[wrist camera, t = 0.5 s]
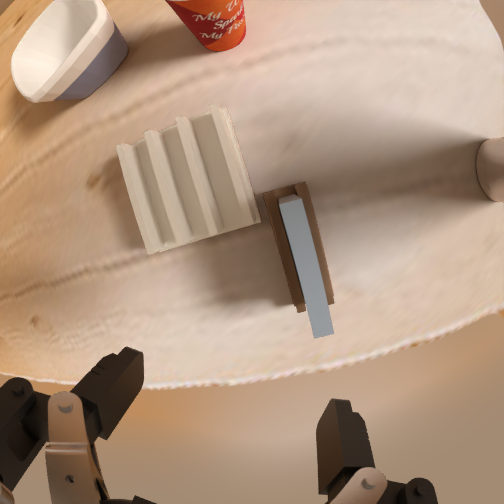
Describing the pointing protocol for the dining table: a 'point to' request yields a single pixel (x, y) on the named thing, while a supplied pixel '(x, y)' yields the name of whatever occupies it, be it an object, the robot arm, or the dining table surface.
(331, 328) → the grey-blue flat slab
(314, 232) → the stand
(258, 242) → the dining table surface
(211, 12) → the coffee cup
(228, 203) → the rack
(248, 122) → the dining table surface
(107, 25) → the bowl
